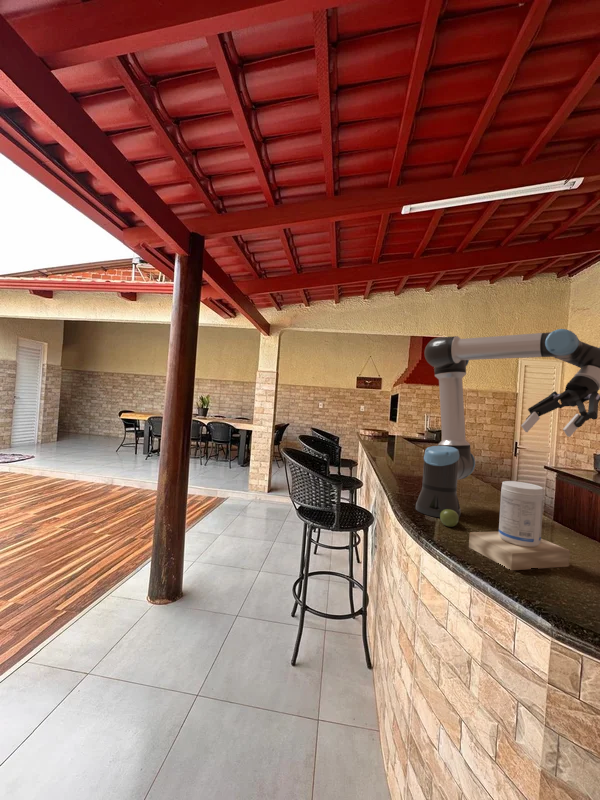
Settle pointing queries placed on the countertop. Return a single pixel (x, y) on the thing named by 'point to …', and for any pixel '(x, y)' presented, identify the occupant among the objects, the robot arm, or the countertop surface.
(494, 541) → the wooden riser
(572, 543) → the countertop surface
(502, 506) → the supplement tub
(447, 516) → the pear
